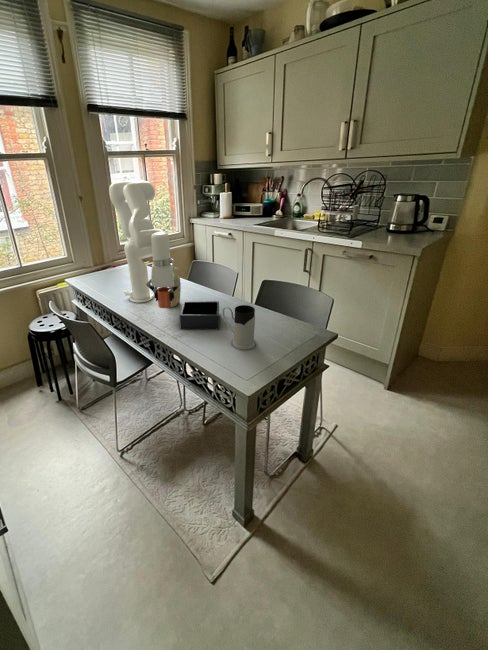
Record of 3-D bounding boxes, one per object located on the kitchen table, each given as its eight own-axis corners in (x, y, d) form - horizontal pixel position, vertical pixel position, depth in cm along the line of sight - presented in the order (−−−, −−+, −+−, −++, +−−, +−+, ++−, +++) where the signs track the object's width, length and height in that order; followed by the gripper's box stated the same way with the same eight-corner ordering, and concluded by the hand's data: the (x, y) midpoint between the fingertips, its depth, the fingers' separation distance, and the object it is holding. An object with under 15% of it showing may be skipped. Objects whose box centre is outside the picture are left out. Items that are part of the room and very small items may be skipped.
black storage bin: (180, 329, 138) (179, 315, 135) (184, 314, 151) (183, 301, 148) (218, 329, 136) (218, 315, 133) (219, 314, 149) (219, 301, 146)
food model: (172, 310, 156) (169, 271, 148) (162, 306, 160) (159, 269, 152) (184, 303, 163) (182, 266, 155) (175, 300, 167) (172, 264, 159)
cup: (157, 308, 142) (155, 291, 139) (159, 302, 148) (158, 286, 144) (170, 308, 142) (169, 292, 138) (172, 302, 147) (171, 286, 144)
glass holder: (247, 351, 119) (248, 316, 113) (216, 340, 128) (216, 306, 122) (259, 342, 125) (260, 307, 119) (229, 331, 134) (229, 299, 128)
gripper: (182, 259, 138) (184, 296, 146) (144, 259, 140) (147, 296, 148) (180, 264, 132) (182, 303, 139) (140, 264, 133) (144, 303, 141)
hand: (164, 299), depth 143 cm, fingers closed on cup, 6 cm apart
